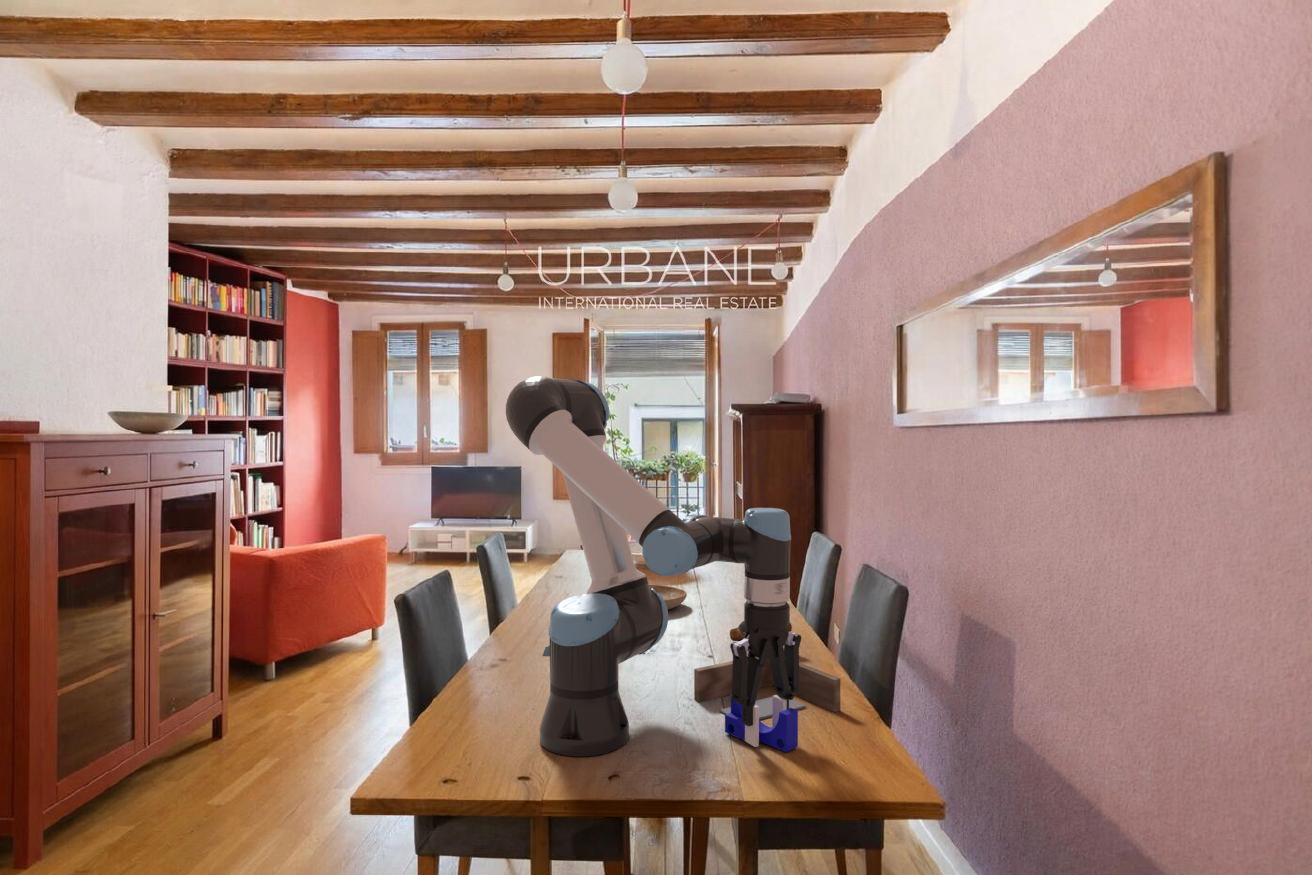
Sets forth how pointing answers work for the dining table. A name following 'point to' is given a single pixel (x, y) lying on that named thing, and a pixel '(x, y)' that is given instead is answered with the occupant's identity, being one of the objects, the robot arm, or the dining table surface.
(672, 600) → the ceramic bowl
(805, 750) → the dining table surface
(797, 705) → the grey mat
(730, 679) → the corner walls
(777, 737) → the blue curved block
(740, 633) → the decorative turtle
